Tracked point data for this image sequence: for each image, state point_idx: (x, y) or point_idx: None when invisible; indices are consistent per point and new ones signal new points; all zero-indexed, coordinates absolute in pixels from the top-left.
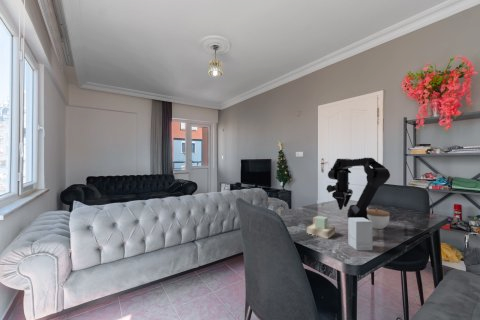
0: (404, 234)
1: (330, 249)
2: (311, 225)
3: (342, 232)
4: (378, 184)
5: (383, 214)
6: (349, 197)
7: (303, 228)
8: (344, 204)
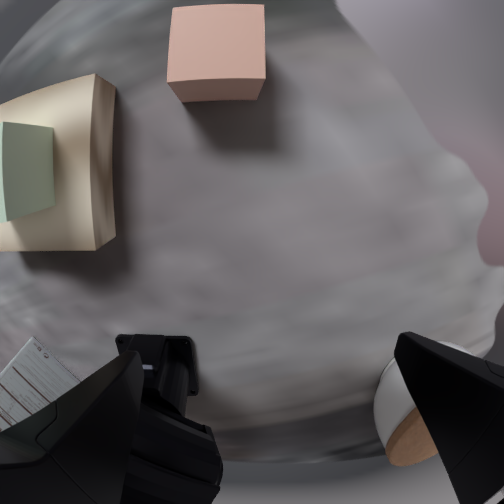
0: (342, 448)
1: None
2: (22, 102)
3: (171, 270)
4: None
5: (393, 464)
6: (458, 485)
7: (86, 35)
8: (417, 358)
